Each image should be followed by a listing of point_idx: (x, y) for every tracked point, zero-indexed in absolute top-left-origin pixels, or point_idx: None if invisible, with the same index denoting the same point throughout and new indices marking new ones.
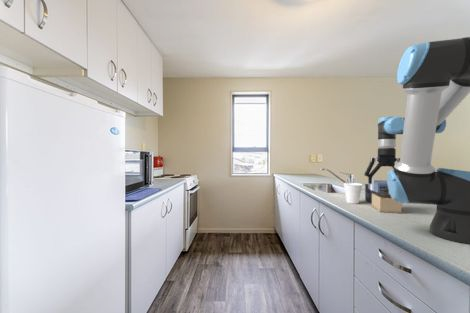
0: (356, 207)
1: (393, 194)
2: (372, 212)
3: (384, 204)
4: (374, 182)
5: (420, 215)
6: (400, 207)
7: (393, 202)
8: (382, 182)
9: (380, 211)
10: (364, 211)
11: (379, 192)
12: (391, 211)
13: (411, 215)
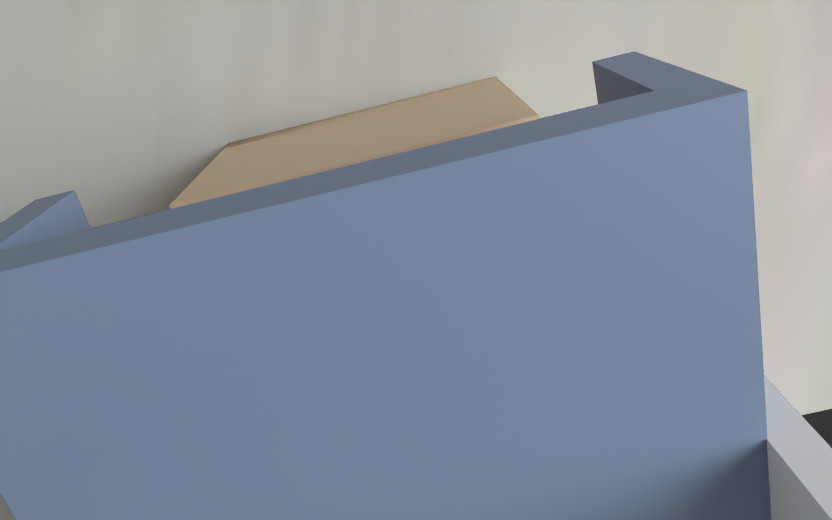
0: (770, 233)
1: None
2: (602, 6)
3: (450, 109)
4: (756, 381)
5: (7, 148)
6: (222, 160)
7: (312, 154)
8: (553, 365)
9: (492, 79)
10: (706, 16)
11: (597, 63)
12: (349, 118)
13: (112, 86)
